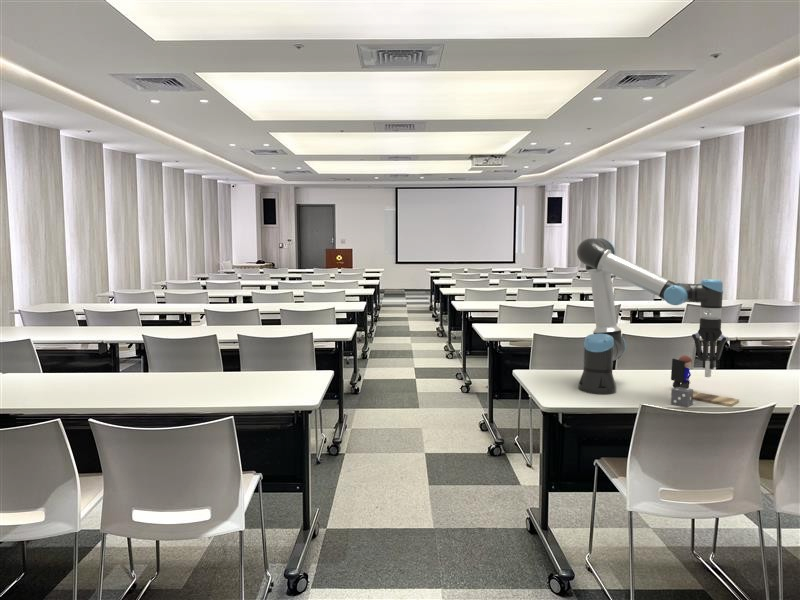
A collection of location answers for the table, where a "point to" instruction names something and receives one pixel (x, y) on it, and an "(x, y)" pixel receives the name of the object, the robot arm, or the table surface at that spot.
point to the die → (682, 397)
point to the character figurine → (681, 372)
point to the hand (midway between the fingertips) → (707, 376)
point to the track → (714, 399)
